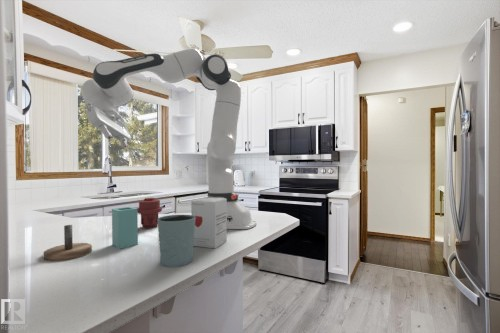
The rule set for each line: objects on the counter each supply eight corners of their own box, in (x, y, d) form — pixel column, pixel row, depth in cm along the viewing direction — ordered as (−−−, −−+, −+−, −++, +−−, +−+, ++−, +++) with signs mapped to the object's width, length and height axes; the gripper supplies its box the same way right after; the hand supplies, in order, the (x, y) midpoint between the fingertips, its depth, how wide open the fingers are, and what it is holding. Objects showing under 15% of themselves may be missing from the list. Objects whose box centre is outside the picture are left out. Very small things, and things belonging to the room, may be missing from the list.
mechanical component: (144, 224, 121) (165, 224, 120) (132, 229, 111) (155, 230, 110) (144, 196, 120) (165, 196, 120) (132, 199, 111) (155, 199, 110)
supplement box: (190, 246, 88) (190, 200, 87) (204, 239, 96) (203, 197, 96) (215, 249, 84) (215, 201, 84) (227, 241, 93) (227, 197, 93)
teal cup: (155, 269, 68) (154, 222, 68) (160, 256, 78) (159, 214, 78) (195, 266, 70) (195, 220, 70) (196, 253, 80) (195, 213, 80)
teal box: (130, 241, 94) (130, 206, 94) (137, 244, 90) (137, 208, 90) (112, 244, 90) (111, 208, 90) (118, 248, 86) (118, 210, 86)
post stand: (100, 249, 85) (100, 222, 85) (65, 262, 74) (65, 231, 74) (71, 246, 88) (70, 220, 88) (33, 258, 77) (32, 229, 77)
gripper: (91, 96, 94) (105, 125, 90) (126, 121, 113) (139, 146, 109) (76, 105, 94) (89, 136, 89) (114, 129, 113) (126, 155, 109)
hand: (117, 142), depth 99 cm, fingers open, 8 cm apart
